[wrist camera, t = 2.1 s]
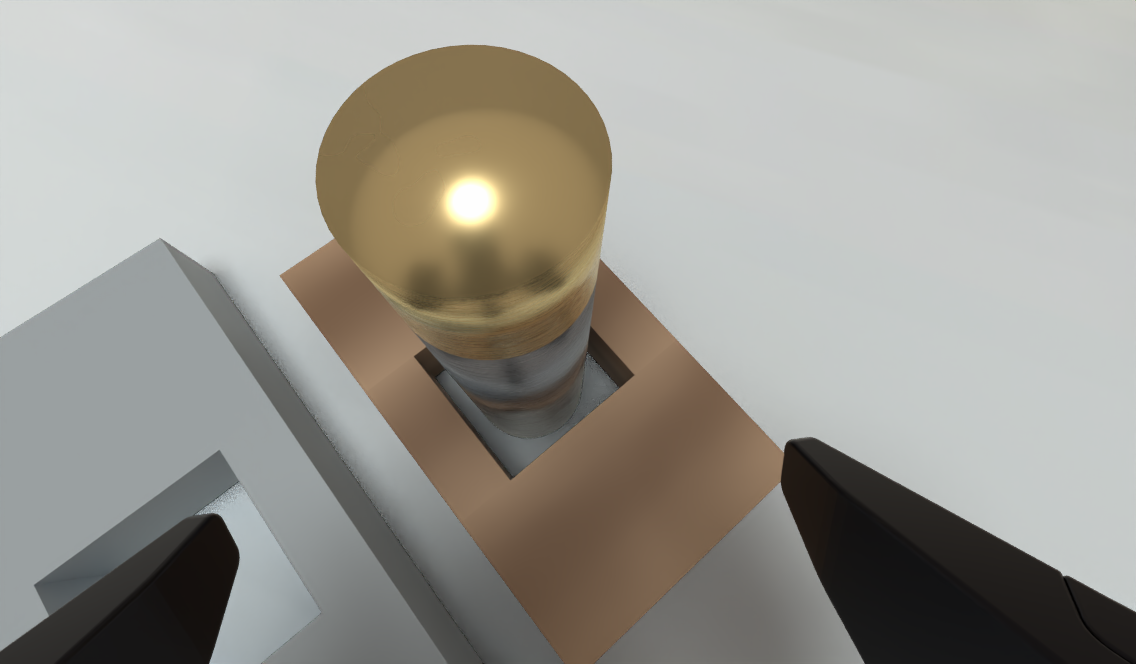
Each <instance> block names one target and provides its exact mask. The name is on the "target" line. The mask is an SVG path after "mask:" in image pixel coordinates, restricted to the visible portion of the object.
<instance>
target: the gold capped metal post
mask: <svg viewBox="0 0 1136 664" xmlns="http://www.w3.org/2000/svg"><path fill="white" fill-rule="evenodd" d="M611 174H612V153H611V147H610V141H609V137H608V134H607V131H606V127H605V124H604V122H603V120H602V118H601V116H600V114H599V112H598V110H597V108H596V107H595V105H594V104H593V103H592V101H591V100H590V98H589V97H588V96H587V94H586V93H585V92H584V91H583V90H582V89H581V88H580V87H579V86H578V85H577V84H576V83H575V82H574V81H573V80H572V79H570V78H569V77H568V76H567V75H566V74H564V73H563V72H561V71H560V70H558V69H557V68H555V67H553V66H552V65H550V64H548V63H546V62H544V61H542V60H540V59H538V58H536V57H533V56H531V55H528V54H525V53H522V52H519V51H515V50H511V49H507V48H502V47H495V46H487V45H460V46H448V47H443V48H437V49H432V50H428V51H425V52H422V53H418V54H415V55H412V56H410V57H407V58H405V59H402V60H400V61H398V62H396V63H394V64H392V65H390V66H388V67H386V68H384V69H383V70H381V71H380V72H378V73H377V74H375V75H374V76H372V77H371V78H369V79H368V80H367V81H366V82H364V83H363V84H362V85H361V86H360V87H359V88H357V89H356V90H355V91H354V92H353V93H352V94H351V95H350V97H349V98H348V99H347V100H346V101H345V102H344V103H343V104H342V106H341V107H340V109H339V110H338V111H337V113H336V114H335V116H334V117H333V119H332V121H331V123H330V125H329V127H328V128H327V130H326V132H325V135H324V138H323V140H322V143H321V146H320V149H319V154H318V159H317V164H316V189H317V198H318V202H319V205H320V209H321V212H322V215H323V217H324V220H325V222H326V224H327V226H328V228H329V230H330V232H331V233H332V235H333V236H334V238H335V239H336V241H337V242H338V244H339V245H340V246H341V247H342V249H343V250H344V251H345V252H346V253H347V254H348V256H349V257H350V258H351V259H352V260H353V262H354V263H355V264H356V265H357V266H358V267H359V269H360V270H361V271H362V272H363V273H364V274H365V276H366V277H367V278H368V279H369V280H370V281H371V283H372V284H373V285H374V286H375V287H376V288H377V290H378V291H379V292H380V293H381V294H382V296H383V297H384V298H385V299H386V300H387V301H388V303H389V304H390V305H391V306H392V307H393V308H394V310H395V311H396V312H397V313H398V314H399V315H400V317H401V318H402V319H403V320H404V321H405V322H406V324H407V325H408V326H409V327H410V328H411V329H412V331H413V332H414V333H415V334H416V335H417V337H418V338H419V339H420V340H421V341H422V342H423V344H424V345H425V346H426V347H427V348H428V349H429V351H430V352H431V353H432V354H433V355H434V356H435V358H436V359H437V360H438V361H439V362H440V363H441V365H442V366H443V367H444V368H445V369H446V371H447V372H448V373H449V374H450V375H451V376H452V378H453V379H454V380H455V381H456V382H457V383H458V385H459V386H460V387H461V388H462V389H463V390H464V392H465V393H466V394H467V395H468V396H469V397H470V399H471V400H472V401H473V402H474V403H475V404H476V406H477V407H478V408H479V409H480V410H481V412H482V413H483V414H484V415H485V416H486V417H487V419H488V420H489V421H490V422H491V423H492V424H493V425H494V426H495V427H497V428H498V429H499V430H501V431H503V432H504V433H507V434H509V435H511V436H515V437H519V438H538V437H542V436H545V435H548V434H551V433H552V432H554V431H556V430H558V429H559V428H560V427H562V426H563V425H564V424H565V423H566V422H567V421H568V420H569V419H570V418H571V416H572V415H573V413H574V412H575V410H576V408H577V406H578V403H579V400H580V396H581V389H582V382H583V375H584V368H585V361H586V353H587V346H588V339H589V332H590V325H591V317H592V310H593V303H594V296H595V289H596V281H597V274H598V267H599V260H600V253H601V246H602V238H603V231H604V224H605V217H606V210H607V202H608V195H609V188H610V181H611Z"/></svg>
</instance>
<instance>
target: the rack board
mask: <svg viewBox="0 0 1136 664" xmlns="http://www.w3.org/2000/svg"><path fill="white" fill-rule="evenodd" d="M239 481H240V483H241V485H242V486H243V488H244V489H245V491H246V493H247V494H248V496H249V497H250V499H251V501H252V502H253V504H254V505H255V507H256V508H257V510H258V512H259V513H260V515H261V516H262V518H263V520H264V521H265V523H266V524H267V526H268V528H269V529H270V531H271V532H272V534H273V536H274V537H275V539H276V540H277V542H278V544H279V545H280V547H281V548H282V550H283V551H284V553H285V555H286V556H287V558H288V559H289V561H290V563H291V564H292V566H293V567H294V569H295V571H296V572H297V574H298V575H299V577H300V579H301V580H302V582H303V583H304V585H305V587H306V588H307V590H308V591H309V593H310V594H311V596H312V598H313V599H314V601H315V602H316V604H317V606H318V607H319V609H320V610H321V612H322V613H321V614H320V615H319V616H317V617H316V618H315V619H314V620H313V621H311V622H310V623H309V624H308V625H307V626H305V627H304V628H303V629H302V630H301V631H299V632H298V633H297V634H296V635H295V636H293V637H292V638H291V639H290V640H289V641H287V642H286V643H285V644H284V645H283V646H281V647H280V648H279V649H278V650H277V651H275V652H274V653H273V654H272V655H271V656H269V657H268V658H267V659H266V660H265V661H263V662H262V663H261V664H483V662H482V661H481V659H480V658H479V657H478V655H477V654H476V652H475V651H474V649H473V648H472V646H471V645H470V644H469V642H468V641H467V639H466V638H465V636H464V635H463V633H462V632H461V631H460V629H459V628H458V626H457V625H456V623H455V622H454V621H453V619H452V618H451V616H450V615H449V613H448V612H447V610H446V609H445V608H444V606H443V605H442V603H441V602H440V600H439V599H438V597H437V596H436V595H435V593H434V592H433V590H432V589H431V587H430V586H429V584H428V583H427V582H426V580H425V579H424V577H423V576H422V574H421V573H420V571H419V570H418V569H417V567H416V566H415V564H414V563H413V561H412V560H411V558H410V557H409V556H408V554H407V553H406V551H405V550H404V548H403V547H402V545H401V544H400V543H399V541H398V540H397V538H396V537H395V535H394V534H393V533H392V531H391V530H390V528H389V527H388V525H387V524H386V522H385V521H384V520H383V518H382V517H381V515H380V514H379V512H378V511H377V509H376V508H375V507H374V505H373V504H372V502H371V501H370V499H369V498H368V496H367V495H366V494H365V492H364V491H363V489H362V488H361V486H360V485H359V483H358V482H357V481H356V479H355V478H354V476H353V475H352V473H351V472H350V470H349V469H348V468H347V466H346V465H345V463H344V462H343V460H342V459H341V458H340V456H339V455H338V453H337V452H336V450H335V449H334V447H333V446H332V445H331V443H330V442H329V440H328V439H327V437H326V436H325V434H324V433H323V432H322V430H321V429H320V427H319V426H318V424H317V423H316V421H315V420H314V419H313V417H312V416H311V414H310V413H309V411H308V410H307V408H306V407H305V406H304V404H303V403H302V401H301V400H300V398H299V397H298V395H297V394H296V393H295V391H294V390H293V388H292V387H291V385H290V384H289V382H288V381H287V380H286V378H285V377H284V375H283V374H282V372H281V371H280V370H279V368H278V367H277V365H276V364H275V362H274V361H273V359H272V358H271V357H270V355H269V354H268V352H267V351H266V349H265V348H264V346H263V345H262V344H261V342H260V341H259V339H258V338H257V336H256V335H255V333H254V332H253V331H252V329H251V328H250V326H249V325H248V323H247V322H246V320H245V319H244V318H243V316H242V315H241V313H240V312H239V310H238V309H237V307H236V306H235V305H234V303H233V302H232V300H231V299H230V297H229V296H228V294H227V293H226V292H225V290H224V289H223V287H222V286H221V284H220V283H219V282H218V280H217V279H216V277H215V276H214V274H213V273H212V272H210V271H209V270H207V269H206V268H204V267H203V266H201V265H200V264H198V263H197V262H195V261H194V260H192V259H191V258H189V257H188V256H186V255H185V254H183V253H182V252H180V251H179V250H177V249H176V248H174V247H173V246H171V245H170V244H168V243H167V242H165V241H164V240H162V239H161V238H159V239H158V240H156V241H155V242H153V243H151V244H150V245H148V246H147V247H145V248H143V249H142V250H140V251H138V252H137V253H135V254H134V255H132V256H130V257H129V258H127V259H126V260H124V261H122V262H121V263H119V264H118V265H116V266H114V267H113V268H111V269H110V270H108V271H106V272H105V273H103V274H101V275H100V276H98V277H97V278H95V279H93V280H92V281H90V282H89V283H87V284H85V285H84V286H82V287H81V288H79V289H77V290H76V291H74V292H73V293H71V294H69V295H68V296H66V297H64V298H63V299H61V300H60V301H58V302H56V303H55V304H53V305H52V306H50V307H48V308H47V309H45V310H44V311H42V312H40V313H39V314H37V315H36V316H34V317H32V318H31V319H29V320H28V321H26V322H24V323H23V324H21V325H19V326H18V327H16V328H15V329H13V330H11V331H10V332H8V333H7V334H5V335H3V336H2V337H0V651H1V650H2V649H4V648H5V647H7V646H8V645H9V644H11V643H12V642H14V641H15V640H16V639H18V638H19V637H21V636H22V635H23V634H25V633H26V632H27V631H29V630H30V629H32V628H33V627H34V626H36V625H37V624H39V623H40V622H41V621H43V620H44V619H46V618H47V617H48V616H50V615H51V614H53V613H54V612H55V611H57V610H58V609H59V608H61V607H62V606H64V605H65V604H66V603H68V602H69V601H71V600H72V599H73V598H75V597H76V596H78V595H79V594H80V593H82V592H83V591H84V590H86V589H87V588H89V587H90V586H91V585H93V584H94V583H96V582H97V581H98V580H100V579H101V578H103V577H104V576H105V575H107V574H108V573H110V572H111V571H112V570H114V569H115V568H116V567H118V566H119V565H121V564H122V563H123V562H125V561H126V560H128V559H129V558H130V557H132V556H133V555H135V554H136V553H137V552H139V551H140V550H141V549H143V548H144V547H146V546H147V545H148V544H150V543H151V542H153V541H154V540H155V539H157V538H158V537H160V536H161V535H162V534H164V533H165V532H167V531H168V530H169V529H171V528H172V527H173V526H175V525H176V524H178V523H179V522H180V521H182V520H183V519H185V518H187V517H190V516H193V515H194V514H196V513H197V512H199V511H200V510H201V509H203V508H204V507H205V506H207V505H208V504H209V503H211V502H212V501H213V500H215V499H216V498H217V497H219V496H220V495H221V494H223V493H224V492H225V491H227V490H228V489H229V488H231V487H232V486H233V485H235V484H236V483H237V482H239Z"/></svg>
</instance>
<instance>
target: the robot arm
mask: <svg viewBox="0 0 1136 664" xmlns="http://www.w3.org/2000/svg"><path fill="white" fill-rule="evenodd" d="M781 486H782V491H783V494H784V496H785V499H786V501H787V503H788V506H789V508H790V511H791V513H792V515H793V518H794V520H795V523H796V525H797V527H798V530H799V532H800V535H801V537H802V539H803V542H804V544H805V547H806V549H807V551H808V554H809V556H810V559H811V561H812V563H813V566H814V568H815V570H816V572H817V575H818V577H819V579H820V581H821V583H822V585H823V587H824V589H825V591H826V593H827V595H828V597H829V599H830V600H831V602H832V604H833V606H834V608H835V610H836V611H837V613H838V615H839V617H840V619H841V621H842V622H843V624H844V626H845V628H846V630H847V632H848V633H849V635H850V637H851V639H852V641H853V643H854V644H855V646H856V648H857V650H858V652H859V654H860V655H861V657H862V659H863V661H864V663H865V664H1136V612H1135V611H1133V610H1131V609H1129V608H1127V607H1126V606H1124V605H1122V604H1120V603H1118V602H1116V601H1114V600H1112V599H1110V598H1108V597H1107V596H1105V595H1103V594H1101V593H1099V592H1097V591H1095V590H1094V589H1092V588H1090V587H1088V586H1086V585H1084V584H1083V583H1081V582H1079V581H1077V580H1075V579H1073V578H1072V577H1070V576H1063V575H1062V573H1061V572H1060V571H1058V570H1057V569H1055V568H1053V567H1051V566H1049V565H1047V564H1046V563H1044V562H1042V561H1040V560H1038V559H1036V558H1035V557H1033V556H1031V555H1029V554H1027V553H1025V552H1024V551H1022V550H1020V549H1018V548H1016V547H1014V546H1013V545H1011V544H1009V543H1007V542H1005V541H1003V540H1001V539H1000V538H998V537H996V536H994V535H992V534H990V533H989V532H987V531H985V530H983V529H981V528H979V527H978V526H976V525H974V524H972V523H970V522H968V521H967V520H965V519H963V518H961V517H959V516H957V515H956V514H954V513H952V512H950V511H948V510H946V509H945V508H943V507H941V506H939V505H937V504H935V503H934V502H932V501H930V500H928V499H926V498H924V497H923V496H921V495H919V494H917V493H915V492H913V491H912V490H910V489H908V488H906V487H904V486H902V485H901V484H899V483H897V482H895V481H893V480H891V479H890V478H888V477H886V476H884V475H882V474H880V473H879V472H877V471H875V470H873V469H871V468H869V467H867V466H866V465H864V464H862V463H860V462H858V461H856V460H855V459H853V458H851V457H849V456H847V455H845V454H844V453H842V452H840V451H838V450H836V449H834V448H833V447H831V446H829V445H827V444H825V443H823V442H822V441H820V440H818V439H816V438H813V437H807V438H799V439H791V440H789V441H788V442H787V443H786V445H785V449H784V457H783V465H782V472H781ZM239 559H240V557H239V550H238V547H237V545H236V543H235V541H234V539H233V537H232V536H231V534H230V532H229V530H228V528H227V526H226V524H225V522H224V520H223V519H222V517H221V516H219V515H218V514H214V513H209V514H201V515H194V516H190V517H187V518H185V519H183V520H182V521H180V522H179V523H178V524H176V525H175V526H173V527H172V528H171V529H169V530H168V531H167V532H165V533H164V534H162V535H161V536H160V537H158V538H157V539H155V540H154V541H153V542H151V543H150V544H148V545H147V546H146V547H144V548H143V549H141V550H140V551H139V552H137V553H136V554H135V555H133V556H132V557H130V558H129V559H128V560H126V561H125V562H123V563H122V564H121V565H119V566H118V567H116V568H115V569H114V570H112V571H111V572H110V573H108V574H107V575H105V576H104V577H103V578H101V579H100V580H98V581H97V582H96V583H94V584H93V585H91V586H90V587H89V588H87V589H86V590H84V591H83V592H82V593H80V594H79V595H78V596H76V597H75V598H73V599H72V600H71V601H69V602H68V603H66V604H65V605H64V606H62V607H61V608H59V609H58V610H57V611H55V612H54V613H53V614H51V615H50V616H48V617H47V618H46V619H44V620H43V621H41V622H40V623H39V624H37V625H36V626H34V627H33V628H32V629H30V630H29V631H27V632H26V633H25V634H23V635H22V636H21V637H19V638H18V639H16V640H15V641H14V642H12V643H11V644H9V645H8V646H7V647H5V648H4V649H2V650H1V651H0V664H209V662H210V659H211V656H212V653H213V650H214V647H215V644H216V640H217V637H218V634H219V630H220V627H221V624H222V620H223V617H224V613H225V610H226V607H227V603H228V600H229V597H230V593H231V590H232V586H233V583H234V580H235V576H236V573H237V570H238V566H239Z"/></svg>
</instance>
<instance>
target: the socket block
mask: <svg viewBox="0 0 1136 664" xmlns="http://www.w3.org/2000/svg"><path fill="white" fill-rule="evenodd" d="M280 277H281V278H282V280H283V281H284V282H285V284H286V285H287V286H288V288H289V289H290V291H291V292H292V293H293V295H294V296H295V297H296V299H297V300H298V301H299V303H300V304H301V306H302V307H303V308H304V310H305V311H306V312H307V314H308V315H309V316H310V318H311V319H312V321H313V322H314V323H315V325H316V326H317V327H318V329H319V330H320V331H321V333H322V334H323V335H324V337H325V338H326V340H327V341H328V342H329V344H330V345H331V346H332V348H333V349H334V350H335V352H336V353H337V355H338V356H339V357H340V359H341V360H342V361H343V363H344V364H345V365H346V367H347V368H348V370H349V371H350V372H351V374H352V375H353V376H354V378H355V379H356V380H357V382H358V383H359V385H360V386H361V387H362V389H363V390H364V391H365V393H366V394H367V395H368V397H369V398H370V400H371V401H372V402H373V404H374V405H375V406H376V408H377V409H378V410H379V412H380V413H381V414H382V416H383V417H384V419H385V420H386V421H387V423H388V424H389V425H390V427H391V428H392V429H393V431H394V432H395V434H396V435H397V436H398V438H399V439H400V440H401V442H402V443H403V444H404V446H405V447H406V449H407V450H408V451H409V453H410V454H411V455H412V457H413V458H414V459H415V461H416V462H417V464H418V465H419V466H420V468H421V469H422V470H423V472H424V473H425V474H426V476H427V477H428V479H429V480H430V481H431V483H432V484H433V485H434V487H435V488H436V489H437V491H438V492H439V493H440V495H441V496H442V498H443V499H444V500H445V502H446V503H447V504H448V506H449V507H450V508H451V510H452V511H453V513H454V514H455V515H456V517H457V518H458V519H459V521H460V522H461V523H462V525H463V526H464V528H465V529H466V530H467V532H468V533H469V534H470V536H471V537H472V538H473V540H474V541H475V543H476V544H477V545H478V547H479V548H480V549H481V551H482V552H483V553H484V555H485V556H486V558H487V559H488V560H489V562H490V563H491V564H492V566H493V567H494V568H495V570H496V571H497V572H498V574H499V575H500V577H501V578H502V579H503V581H504V582H505V583H506V585H507V586H508V587H509V589H510V590H511V592H512V593H513V594H514V596H515V597H516V598H517V600H518V601H519V602H520V604H521V605H522V607H523V608H524V609H525V611H526V612H527V613H528V615H529V616H530V617H531V619H532V620H533V622H534V623H535V624H536V626H537V627H538V628H539V630H540V631H541V632H542V634H543V635H544V637H545V638H546V639H547V641H548V642H549V643H550V645H551V646H552V647H553V649H554V650H555V651H556V653H557V654H558V656H559V657H560V658H561V660H562V661H563V662H564V664H594V663H595V662H596V661H597V660H598V659H599V658H600V657H601V656H602V655H603V654H604V653H605V652H606V651H607V650H608V649H609V648H610V647H612V646H613V645H614V644H615V643H616V642H617V641H618V640H619V639H620V638H621V637H622V636H623V635H624V634H625V633H626V632H627V631H628V630H629V629H630V628H631V627H632V626H633V625H634V624H635V623H636V622H637V621H638V620H639V619H640V618H641V617H642V616H643V615H644V614H645V613H646V612H647V611H648V610H649V609H650V608H651V607H652V606H654V605H655V604H656V603H657V602H658V601H659V600H660V599H661V598H662V597H663V596H664V595H665V594H666V593H667V592H668V591H669V590H670V589H671V588H672V587H673V586H674V585H675V584H676V583H677V582H678V581H679V580H680V579H681V578H682V577H683V576H684V575H685V574H686V573H687V572H688V571H689V570H690V569H691V568H692V567H693V566H694V565H696V564H697V563H698V562H699V561H700V560H701V559H702V558H703V557H704V556H705V555H706V554H707V553H708V552H709V551H710V550H711V549H712V548H713V547H714V546H715V545H716V544H717V543H718V542H719V541H720V540H721V539H722V538H723V537H724V536H725V535H726V534H727V533H728V532H729V531H730V530H731V529H732V528H733V527H734V526H735V525H736V524H738V523H739V522H740V521H741V520H742V519H743V518H744V517H745V516H746V515H747V514H748V513H749V512H750V511H751V510H752V509H753V508H754V507H755V506H756V505H757V504H758V503H759V502H760V501H761V500H762V499H763V498H764V497H765V496H766V495H767V494H768V493H769V492H770V491H771V490H772V489H773V488H774V487H775V486H776V485H777V484H778V483H780V482H781V472H782V465H783V457H784V453H783V452H782V451H781V450H780V448H779V447H778V446H777V445H776V444H775V443H774V442H773V441H772V440H771V439H770V438H769V437H768V436H767V435H766V434H765V433H764V432H763V431H762V429H761V428H760V427H759V426H758V425H757V424H756V423H755V422H754V421H753V420H752V419H751V418H750V417H749V416H748V415H747V414H746V413H745V411H744V410H743V409H742V408H741V407H740V406H739V405H738V404H737V403H736V402H735V401H734V400H733V399H732V398H731V397H730V396H729V395H728V394H727V392H726V391H725V390H724V389H723V388H722V387H721V386H720V385H719V384H718V383H717V382H716V381H715V380H714V379H713V378H712V377H711V376H710V374H709V373H708V372H707V371H706V370H705V369H704V368H703V367H702V366H701V365H700V364H699V363H698V362H697V361H696V360H695V359H694V358H693V357H692V355H691V354H690V353H689V352H688V351H687V350H686V349H685V348H684V347H683V346H682V345H681V344H680V343H679V342H678V341H677V340H676V339H675V337H674V336H673V335H672V334H671V333H670V332H669V331H668V330H667V329H666V328H665V327H664V326H663V325H662V324H661V323H660V322H659V321H658V320H657V318H656V317H655V316H654V315H653V314H652V313H651V312H650V311H649V310H648V309H647V308H646V307H645V306H644V305H643V304H642V303H641V302H640V300H639V299H638V298H637V297H636V296H635V295H634V294H633V293H632V292H631V291H630V290H629V289H628V288H627V287H626V286H625V285H624V284H623V282H622V281H621V280H620V279H619V278H618V277H617V276H616V275H615V274H614V273H613V272H612V271H611V270H610V269H609V268H608V267H607V266H606V265H605V263H604V262H603V261H602V260H601V259H600V260H599V267H598V274H597V281H596V289H595V296H594V303H593V310H592V317H591V325H590V332H589V339H588V346H587V351H588V352H589V354H590V355H591V356H592V357H593V358H594V359H595V360H596V361H597V363H598V364H599V365H600V366H601V367H602V368H603V369H604V370H605V372H606V373H607V374H608V375H609V376H610V377H611V378H612V380H613V381H614V382H615V383H616V384H617V385H618V386H619V387H620V388H619V389H618V390H617V391H616V392H614V393H613V394H612V395H611V396H610V397H609V398H607V399H606V400H605V401H604V402H603V403H601V404H600V405H599V406H598V407H597V408H596V409H594V410H593V411H592V412H591V413H590V414H588V415H587V416H586V417H585V418H584V419H583V420H581V421H580V422H579V423H578V424H577V425H576V426H574V427H573V428H572V429H571V430H570V431H568V432H567V433H566V434H565V435H564V436H563V437H561V438H560V439H559V440H558V441H557V442H555V443H554V444H553V445H552V446H551V447H550V448H548V449H547V450H546V451H545V452H544V453H542V454H541V455H540V456H539V457H538V458H537V459H535V460H534V461H533V462H532V463H531V464H529V465H528V466H527V467H526V468H525V469H524V470H522V471H521V472H520V473H519V474H518V475H516V476H515V477H514V478H513V477H512V476H511V475H510V473H509V472H508V471H507V469H506V468H505V467H504V466H503V464H502V463H501V462H500V461H499V459H498V458H497V457H496V455H495V454H494V453H493V452H492V450H491V449H490V448H489V446H488V445H487V444H486V443H485V441H484V440H483V439H482V438H481V436H480V435H479V434H478V432H477V431H476V430H475V429H474V427H473V426H472V425H471V423H470V422H469V421H468V420H467V418H466V417H465V416H464V414H463V413H462V412H461V411H460V409H459V408H458V407H457V406H456V404H455V403H454V402H453V400H452V399H451V398H450V397H449V395H448V394H447V393H446V391H445V390H444V389H443V388H442V386H441V385H440V384H439V382H438V381H437V380H436V379H435V377H436V376H437V375H438V374H440V373H441V372H442V371H443V370H445V368H444V367H443V366H442V365H441V363H440V362H439V361H438V360H437V359H436V358H435V356H434V355H433V354H432V353H431V352H430V351H429V349H428V348H427V347H426V346H425V345H424V344H423V342H422V341H421V340H420V339H419V338H418V337H417V335H416V334H415V333H414V332H413V331H412V329H411V328H410V327H409V326H408V325H407V324H406V322H405V321H404V320H403V319H402V318H401V317H400V315H399V314H398V313H397V312H396V311H395V310H394V308H393V307H392V306H391V305H390V304H389V303H388V301H387V300H386V299H385V298H384V297H383V296H382V294H381V293H380V292H379V291H378V290H377V288H376V287H375V286H374V285H373V284H372V283H371V281H370V280H369V279H368V278H367V277H366V276H365V274H364V273H363V272H362V271H361V270H360V269H359V267H358V266H357V265H356V264H355V263H354V262H353V260H352V259H351V258H350V257H349V256H348V254H347V253H346V252H345V251H344V250H343V249H342V247H341V246H340V245H339V244H338V242H337V241H336V239H333V240H332V241H330V242H329V243H327V244H326V245H324V246H323V247H321V248H320V249H318V250H317V251H315V252H314V253H312V254H311V255H310V256H308V257H307V258H305V259H304V260H302V261H301V262H299V263H298V264H296V265H295V266H293V267H292V268H290V269H289V270H287V271H286V272H284V273H283V274H281V275H280Z"/></svg>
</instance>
